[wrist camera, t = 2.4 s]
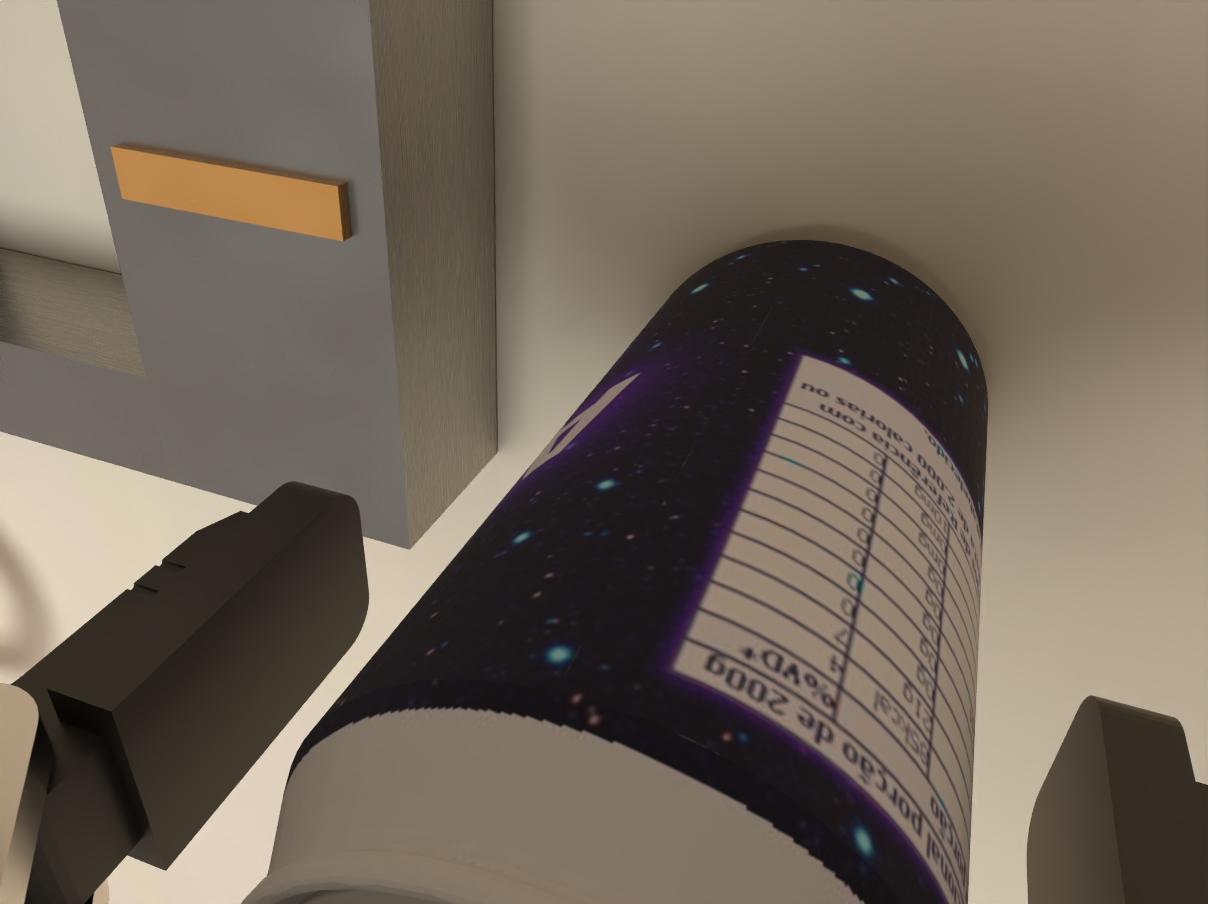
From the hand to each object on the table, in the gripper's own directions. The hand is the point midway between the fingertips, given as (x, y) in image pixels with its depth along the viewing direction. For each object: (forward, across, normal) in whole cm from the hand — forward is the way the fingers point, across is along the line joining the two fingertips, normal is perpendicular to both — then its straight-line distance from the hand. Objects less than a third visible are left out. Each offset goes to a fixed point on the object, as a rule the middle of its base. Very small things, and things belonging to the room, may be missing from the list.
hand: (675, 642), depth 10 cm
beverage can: (+7, 0, 0) cm, 7 cm away
